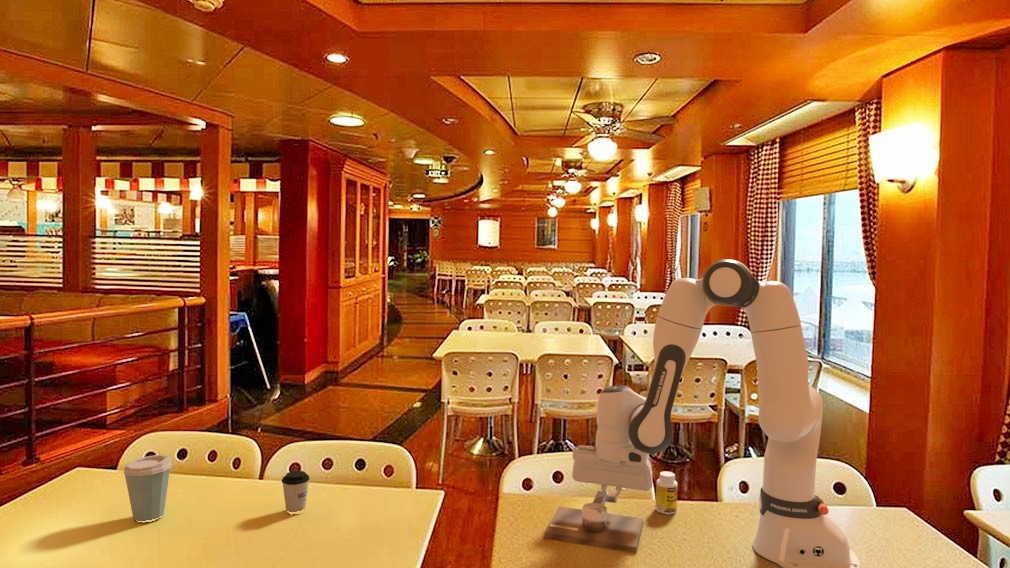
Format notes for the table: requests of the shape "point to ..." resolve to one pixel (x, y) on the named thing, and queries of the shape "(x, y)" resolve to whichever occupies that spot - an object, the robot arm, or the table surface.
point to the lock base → (616, 536)
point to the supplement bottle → (666, 493)
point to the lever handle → (595, 514)
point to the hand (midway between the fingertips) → (611, 501)
